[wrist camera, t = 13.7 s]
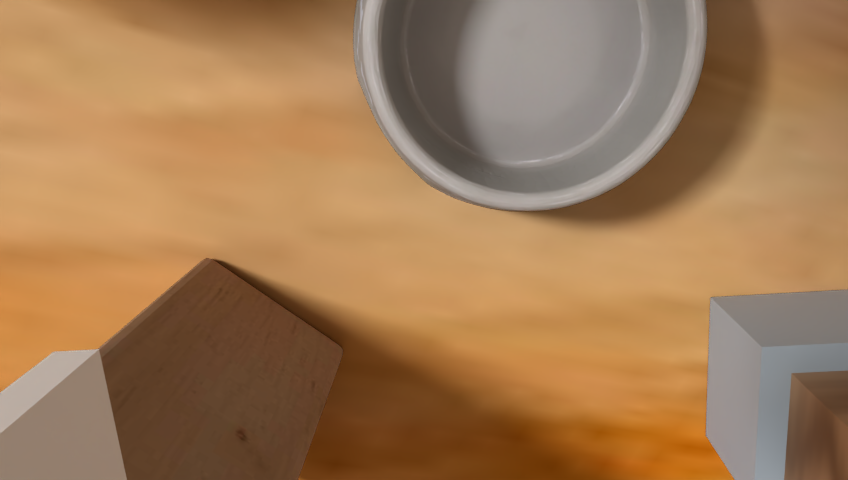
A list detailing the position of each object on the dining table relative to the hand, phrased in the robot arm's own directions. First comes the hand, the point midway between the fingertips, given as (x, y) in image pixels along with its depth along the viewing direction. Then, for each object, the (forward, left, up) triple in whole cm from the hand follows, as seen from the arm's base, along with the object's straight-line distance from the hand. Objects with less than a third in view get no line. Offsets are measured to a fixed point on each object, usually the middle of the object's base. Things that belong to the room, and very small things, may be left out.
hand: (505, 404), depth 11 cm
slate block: (+14, +18, -29) cm, 37 cm away
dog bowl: (-5, +3, -29) cm, 30 cm away
